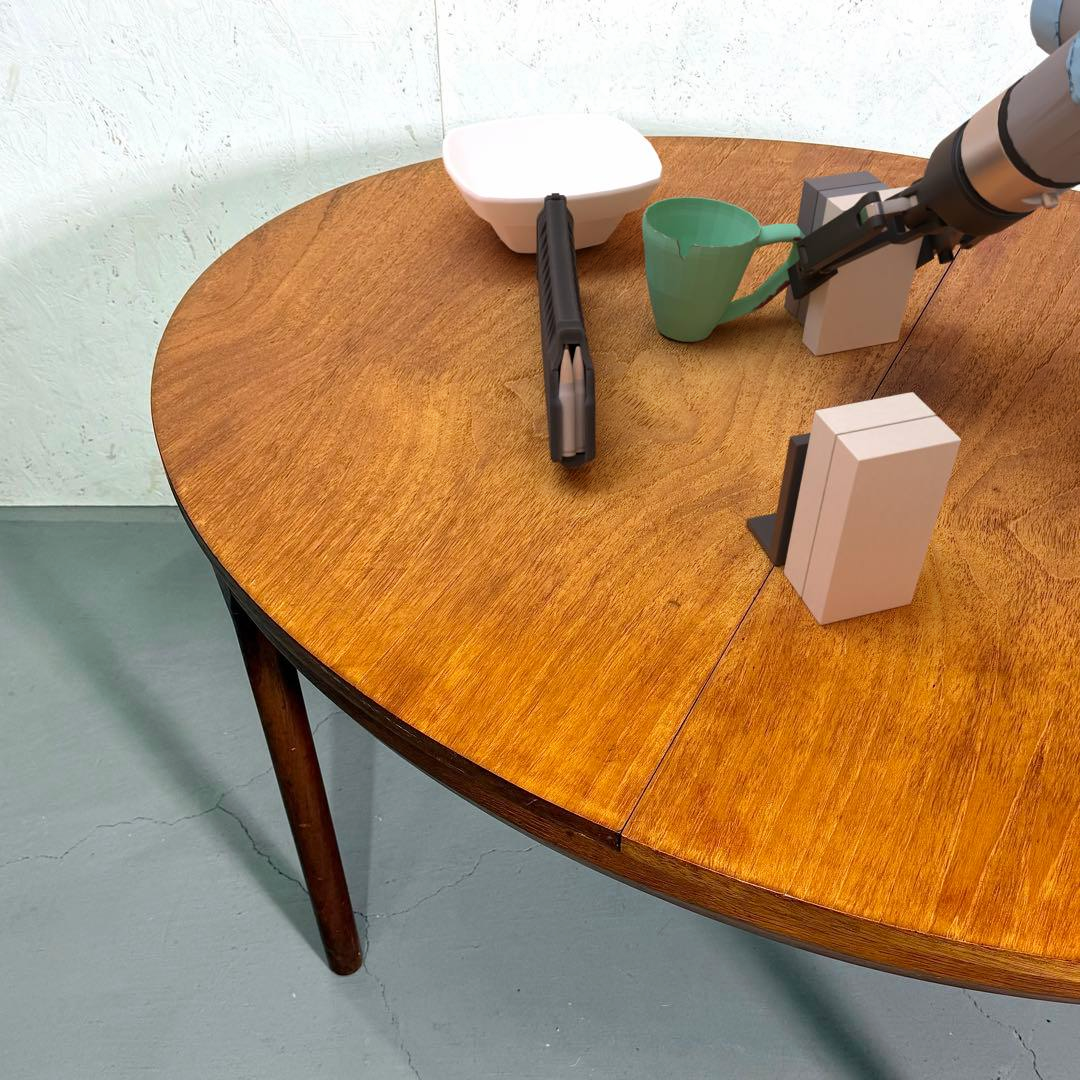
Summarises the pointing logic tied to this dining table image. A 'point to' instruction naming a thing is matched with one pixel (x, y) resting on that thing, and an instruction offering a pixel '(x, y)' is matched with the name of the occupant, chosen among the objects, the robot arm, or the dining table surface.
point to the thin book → (861, 293)
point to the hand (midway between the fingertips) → (840, 276)
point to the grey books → (814, 212)
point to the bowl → (552, 173)
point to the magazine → (564, 339)
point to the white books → (859, 505)
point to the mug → (706, 263)
